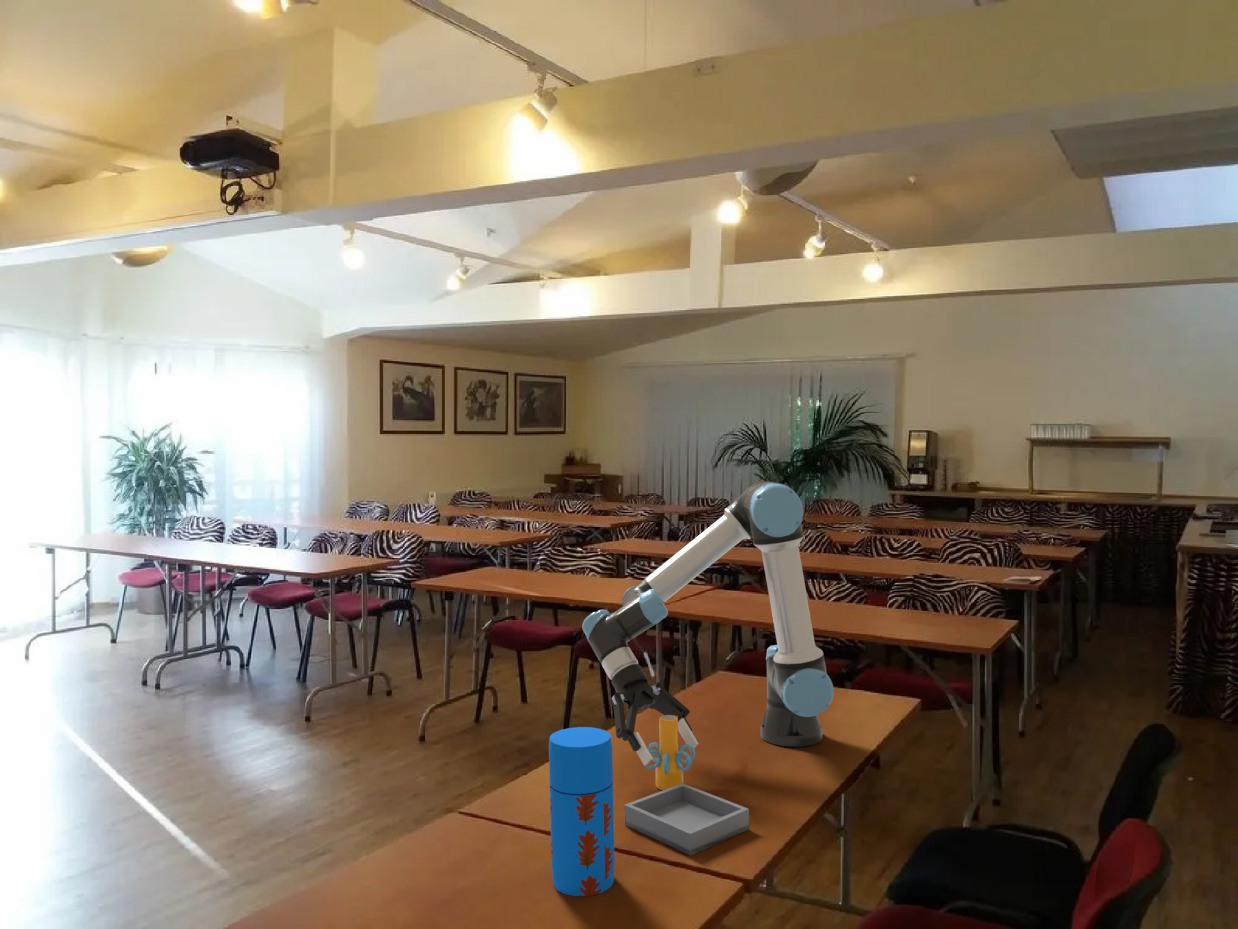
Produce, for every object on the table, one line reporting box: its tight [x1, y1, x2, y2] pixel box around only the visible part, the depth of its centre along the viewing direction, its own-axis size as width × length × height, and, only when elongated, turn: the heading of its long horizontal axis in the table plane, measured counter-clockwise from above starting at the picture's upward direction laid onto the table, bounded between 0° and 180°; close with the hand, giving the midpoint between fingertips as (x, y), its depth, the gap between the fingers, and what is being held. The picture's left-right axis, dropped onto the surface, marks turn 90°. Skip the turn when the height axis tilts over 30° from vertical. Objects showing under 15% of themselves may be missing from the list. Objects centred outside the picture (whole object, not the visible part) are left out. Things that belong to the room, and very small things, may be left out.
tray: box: [623, 782, 750, 856], centre depth 178 cm, size 16×18×4 cm
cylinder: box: [644, 714, 696, 791], centre depth 199 cm, size 12×10×15 cm
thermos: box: [548, 726, 615, 897], centre depth 157 cm, size 11×11×25 cm
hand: (672, 754), depth 198 cm, fingers open, 13 cm apart
